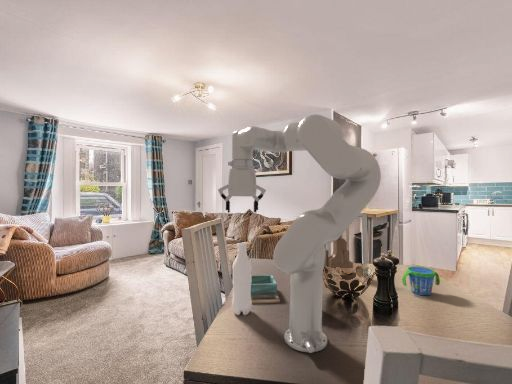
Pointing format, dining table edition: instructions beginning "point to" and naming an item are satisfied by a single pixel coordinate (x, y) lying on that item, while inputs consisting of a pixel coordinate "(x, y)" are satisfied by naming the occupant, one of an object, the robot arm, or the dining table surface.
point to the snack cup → (421, 279)
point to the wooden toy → (338, 255)
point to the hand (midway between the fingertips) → (241, 212)
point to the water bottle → (242, 282)
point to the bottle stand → (264, 289)
